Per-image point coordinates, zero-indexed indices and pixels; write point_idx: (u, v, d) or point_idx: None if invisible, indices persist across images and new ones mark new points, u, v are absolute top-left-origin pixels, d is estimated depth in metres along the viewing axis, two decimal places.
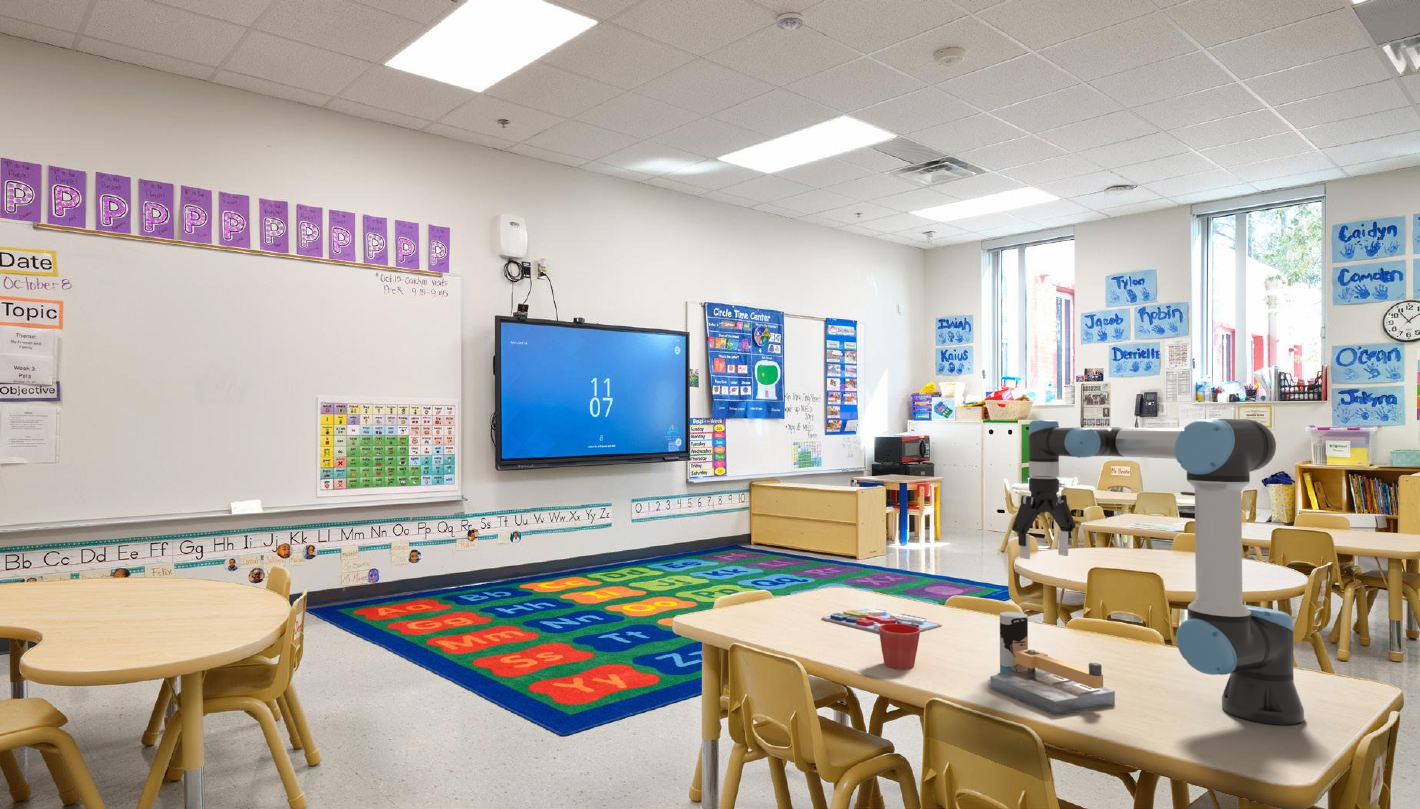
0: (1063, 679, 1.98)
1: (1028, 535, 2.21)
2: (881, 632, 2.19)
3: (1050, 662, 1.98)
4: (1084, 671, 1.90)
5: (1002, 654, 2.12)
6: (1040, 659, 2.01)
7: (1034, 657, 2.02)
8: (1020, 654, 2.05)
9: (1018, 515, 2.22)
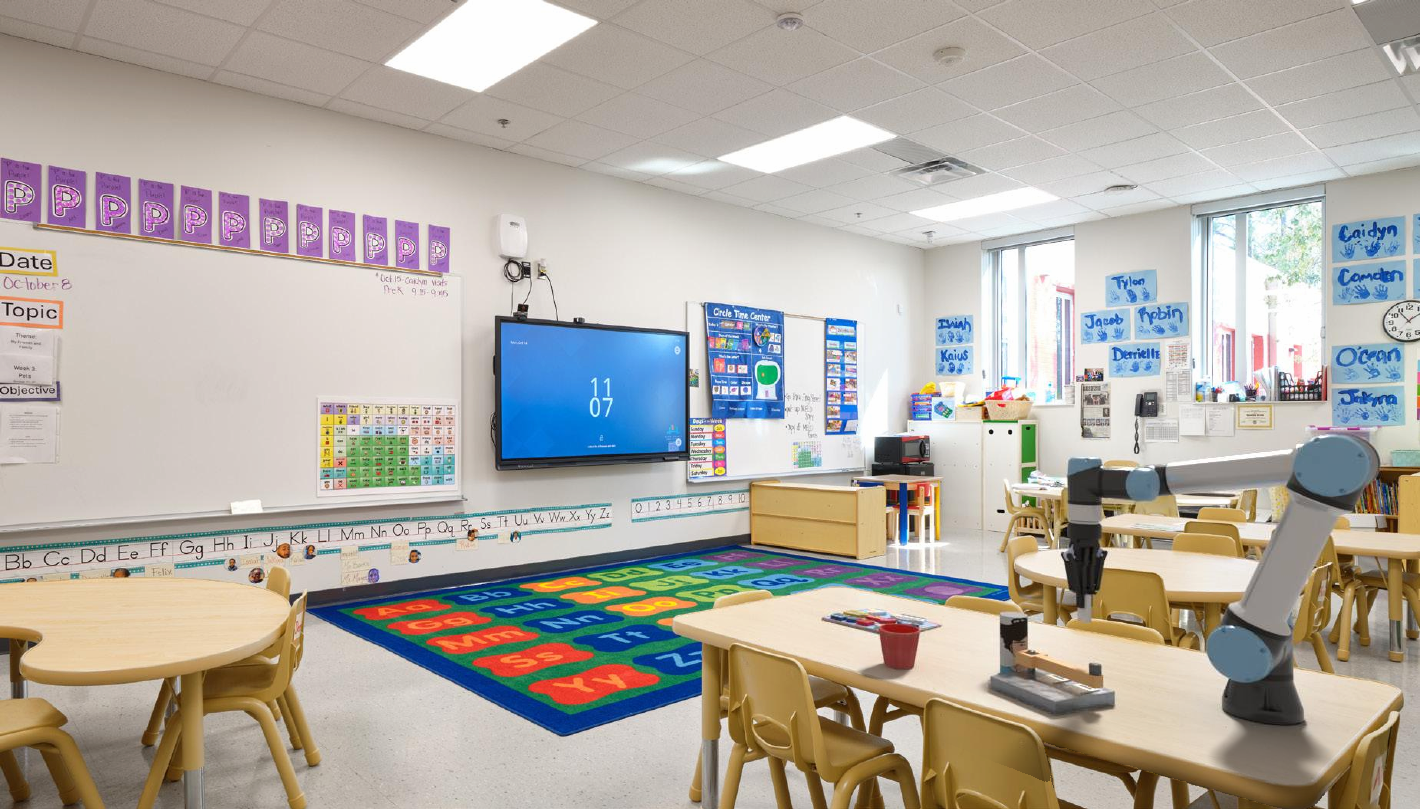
0: (1063, 679, 1.98)
1: (1087, 596, 1.98)
2: (881, 632, 2.19)
3: (1050, 662, 1.98)
4: (1084, 671, 1.90)
5: (1002, 654, 2.12)
6: (1040, 659, 2.01)
7: (1034, 657, 2.02)
8: (1020, 654, 2.05)
9: (1068, 575, 1.98)
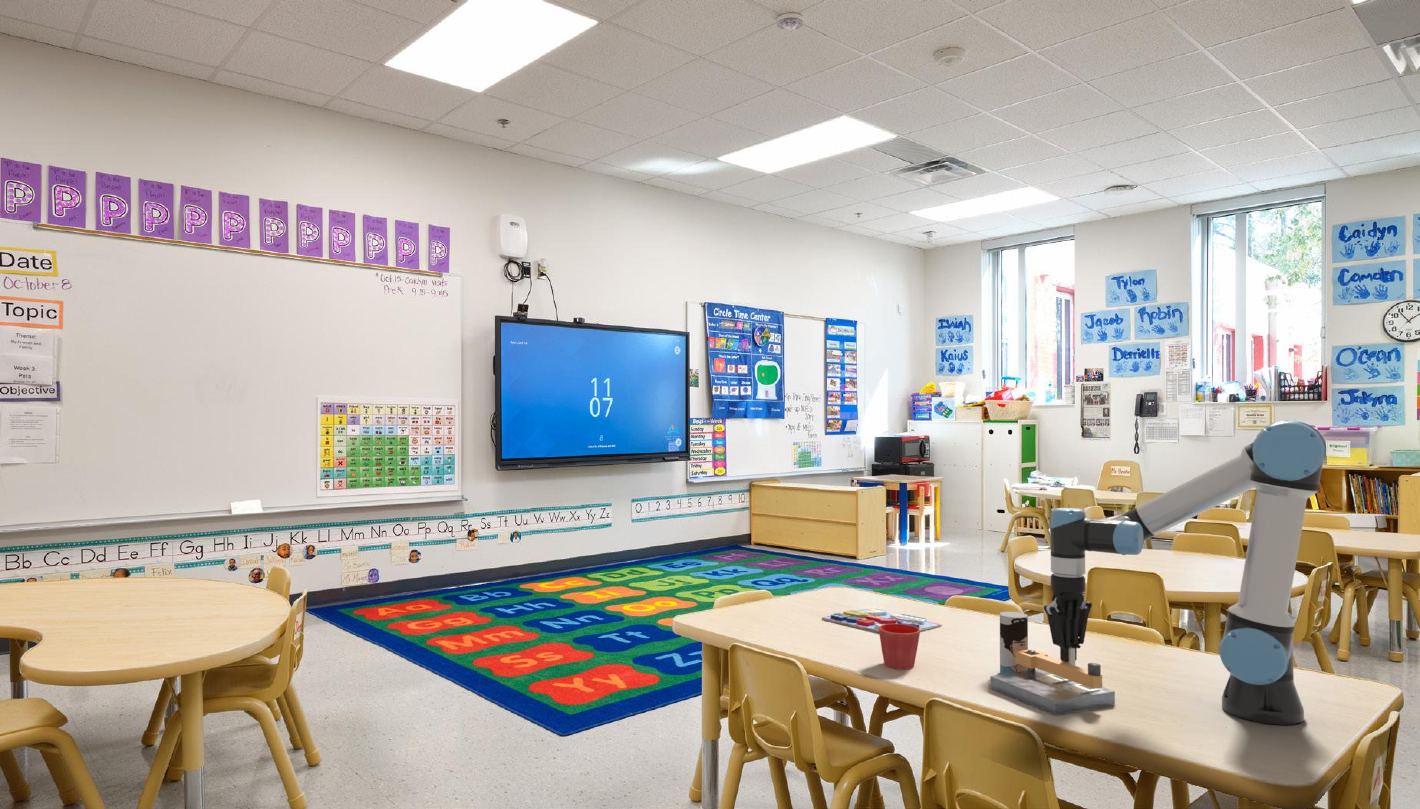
0: (1063, 679, 1.98)
1: (1071, 650, 1.96)
2: (881, 632, 2.19)
3: (1050, 662, 1.98)
4: (1084, 671, 1.90)
5: (1002, 654, 2.12)
6: (1040, 659, 2.01)
7: (1034, 657, 2.02)
8: (1020, 654, 2.05)
9: (1052, 628, 1.96)
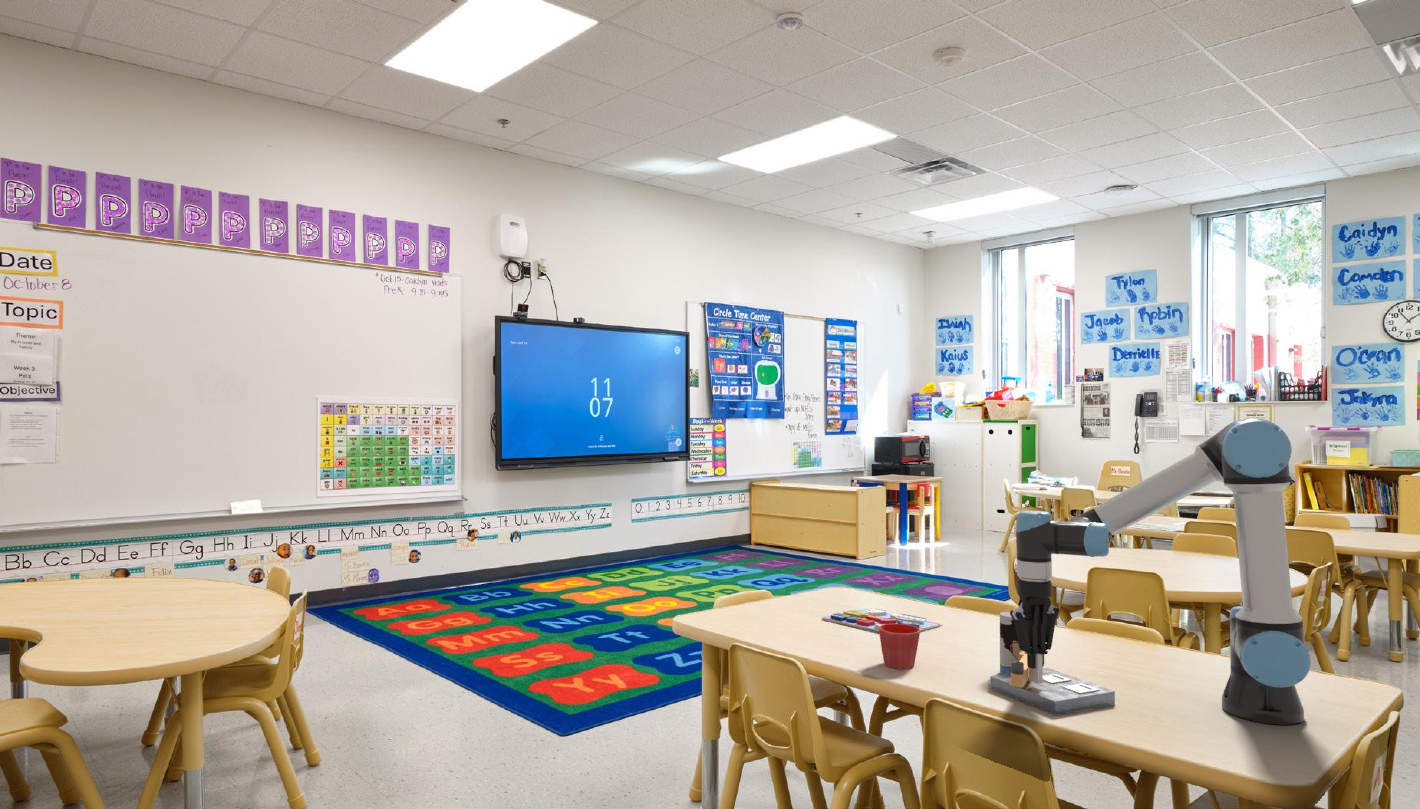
0: (1063, 679, 1.98)
1: (1038, 656, 1.91)
2: (881, 632, 2.19)
3: None
4: None
5: (1002, 654, 2.12)
6: None
7: (1022, 655, 2.04)
8: None
9: (1018, 634, 1.92)
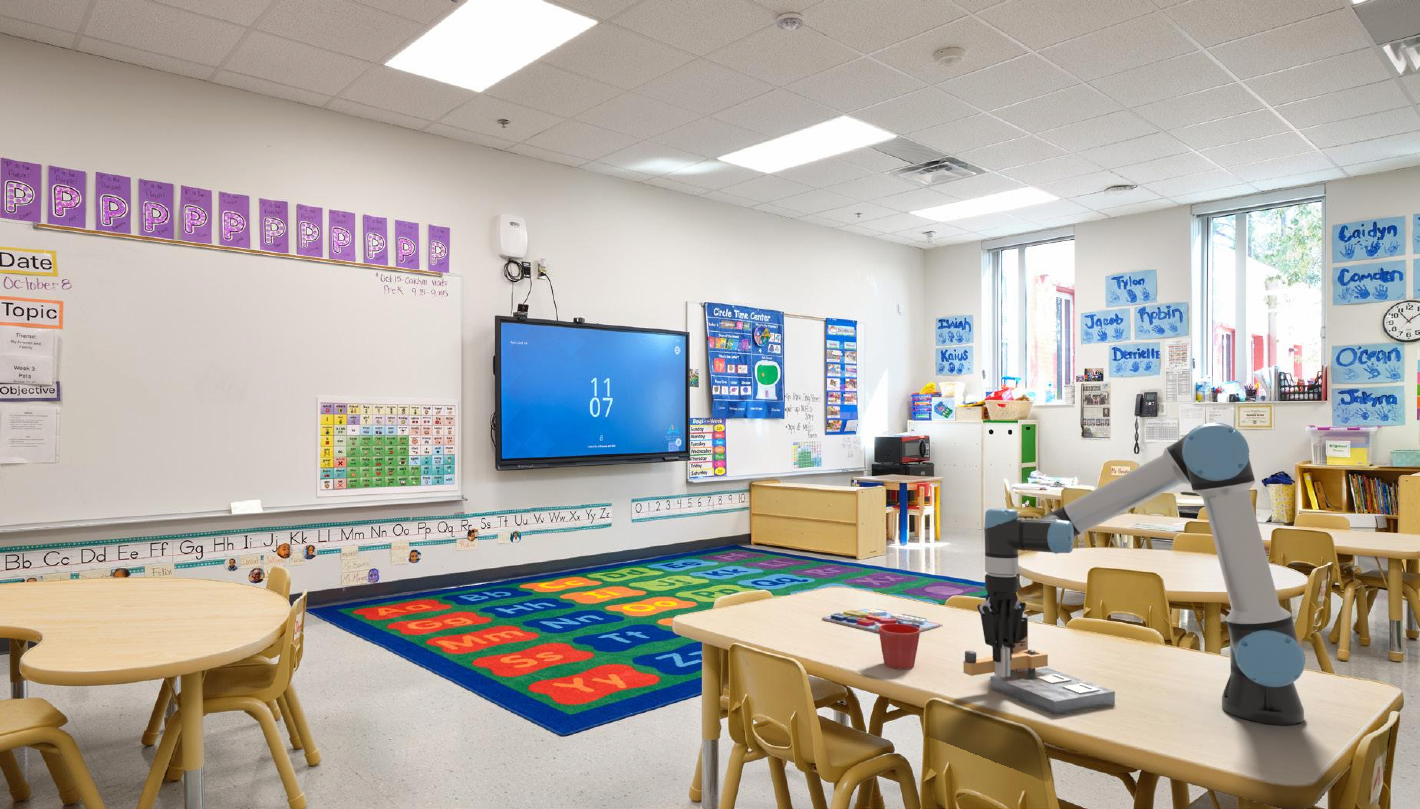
0: (1063, 679, 1.98)
1: (1003, 650, 1.96)
2: (881, 632, 2.19)
3: None
4: (977, 660, 1.99)
5: None
6: None
7: None
8: None
9: (984, 628, 1.97)
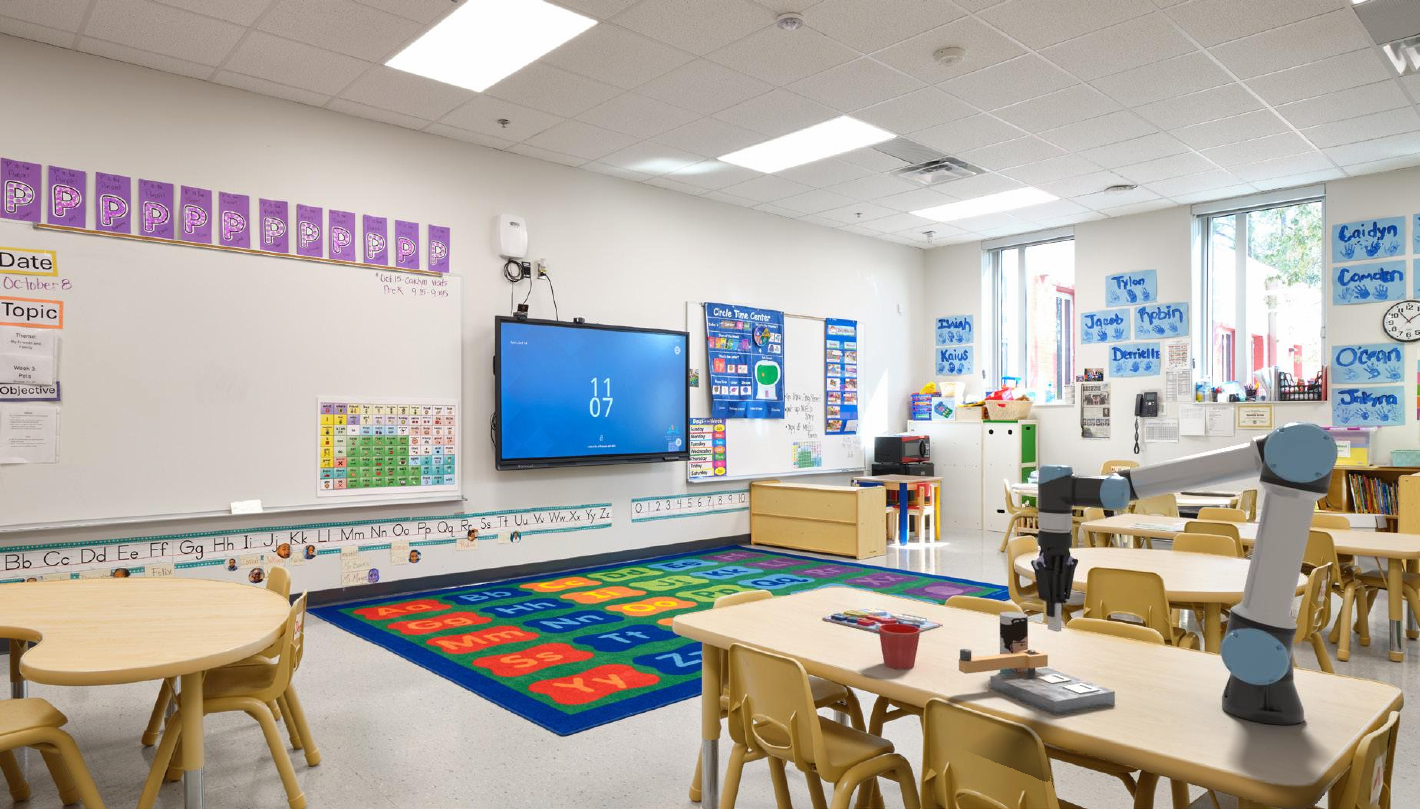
0: (1063, 679, 1.98)
1: (1057, 605, 1.97)
2: (881, 632, 2.19)
3: None
4: (973, 658, 2.00)
5: None
6: None
7: (1018, 653, 2.06)
8: None
9: (1038, 583, 1.97)
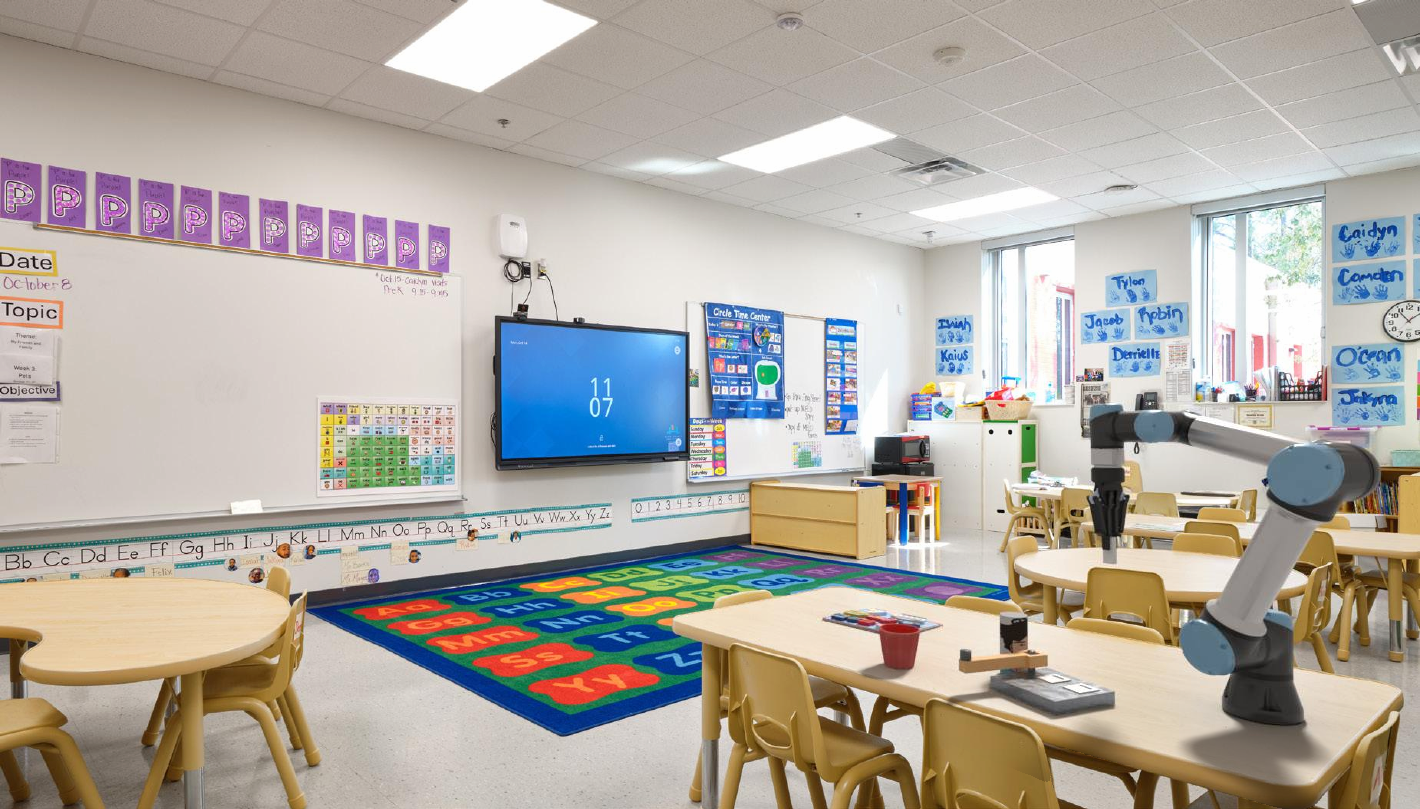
0: (1063, 679, 1.98)
1: (1113, 538, 2.04)
2: (881, 632, 2.19)
3: None
4: (973, 658, 2.00)
5: None
6: None
7: (1018, 653, 2.06)
8: None
9: (1094, 517, 2.04)
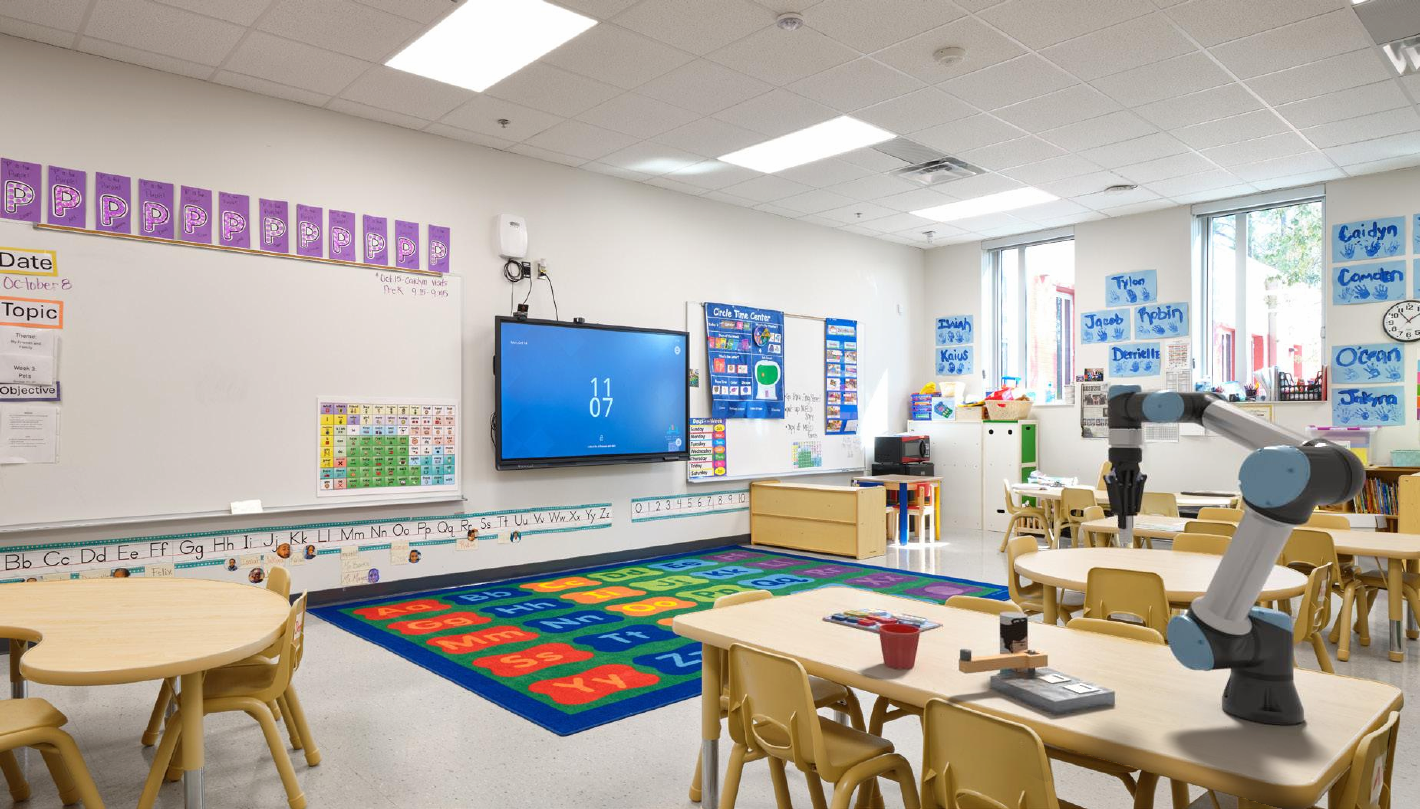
0: (1063, 679, 1.98)
1: (1129, 517, 2.06)
2: (881, 632, 2.19)
3: None
4: (973, 658, 2.00)
5: None
6: None
7: (1018, 653, 2.06)
8: None
9: (1110, 497, 2.07)
